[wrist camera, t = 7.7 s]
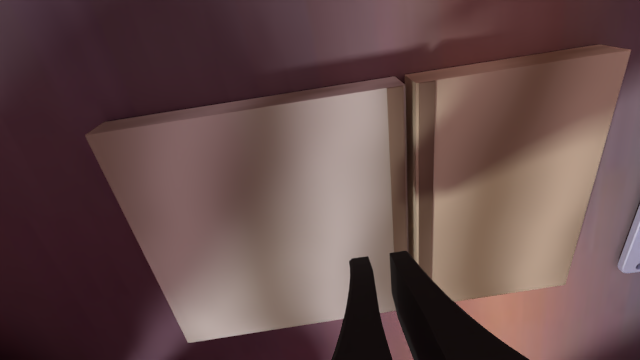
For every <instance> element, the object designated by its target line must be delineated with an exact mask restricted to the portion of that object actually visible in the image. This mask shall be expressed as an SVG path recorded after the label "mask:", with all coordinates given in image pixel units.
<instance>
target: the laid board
mask: <svg viewBox="0 0 640 360" xmlns="http://www.w3.org/2000/svg"><path fill="white" fill-rule="evenodd" d="M630 53H631V50H630V49H624V48H618V47H612V46H607V45H601V44H599V45H592V46H586V47H579V48H573V49H566V50H560V51H554V52H547V53H541V54H534V55H528V56H522V57H515V58H509V59H502V60H496V61H489V62H483V63H477V64H470V65H464V66H457V67H451V68H445V69H438V70H432V71H425V72H419V73H412V74H406V75H405V93H406V147H407V202H408V252H409V254H410V255H411V256H412V257H413V259H414V260H415V261H416V262H417V263H418V265H419V266H420V267H421V268H422V269H423V270H424V272H425V273H426V274H427V275H428V276H429V277H430V278H431V279H432V280H433V281H434V282H435V283H436V284H437V285H438V287H439V288H440V289H441V290H442V291H443V292H444V293H445V294H446V295H447V296H448V297H449V298H451V299H452V300H453V301H454V302H455V301H462V300H468V299H475V298H481V297H488V296H495V295H501V294H508V293H514V292H521V291H528V290H534V289H541V288H547V287H554V286H561V285H565V283H566V280H567V276H568V273H569V269H570V266H571V262H572V259H573V255H574V251H575V248H576V244H577V241H578V237H579V234H580V230H581V227H582V223H583V219H584V216H585V212H586V209H587V205H588V202H589V198H590V195H591V191H592V188H593V184H594V180H595V177H596V173H597V170H598V166H599V163H600V159H601V156H602V152H603V149H604V145H605V141H606V138H607V134H608V131H609V127H610V124H611V120H612V117H613V113H614V109H615V106H616V102H617V99H618V95H619V92H620V88H621V85H622V81H623V78H624V74H625V70H626V67H627V63H628V60H629V56H630Z"/></svg>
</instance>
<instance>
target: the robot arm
mask: <svg viewBox="0 0 640 360" xmlns="http://www.w3.org/2000/svg"><path fill="white" fill-rule="evenodd" d="M389 254H390V273H391V292H392V296H393V300H394V304H395V308H396V312H397V315H398V319H399V322H400V325H401V327H402V330H403V332H404V335H405V338H406V340H407V343H408V346H409V348H410V351H411V353H412V356H413V359H414V360H529V359H528V358H526V357H525V356H523V355H522V354H520V353H519V352H517V351H516V350H514V349H513V348H511V347H510V346H508V345H507V344H505V343H504V342H502V341H501V340H500V339H498V338H497V337H496V336H494V335H493V334H492V333H490V332H489V331H488V330H486V329H485V328H484V327H483V326H481V325H480V324H479V323H478V322H476V321H475V320H474V319H473V318H472V317H470V316H469V315H468V314H467V313H466V312H465V311H464V310H462V309H461V308H460V307H459V306H458V305H457V304H456V303H455V302H454V301H453V300H452V299H451V298H449V297H448V296H447V295H446V294H445V293H444V292H443V291H442V290H441V289H440V288H439V287H438V285H437V284H436V283H435V282H434V281H433V280H432V279H431V278H430V277H429V276H428V275H427V274H426V273H425V272H424V270H423V269H422V268H421V267H420V266H419V265H418V263H417V262H416V261H415V260H414V259H413V257H412V256H411V255H410V254H409V252H407V251H400V252H393V253H389ZM349 265H350V283H349V292H348V299H347V305H346V310H345V314H344V319H343V323H342V327H341V331H340V335H339V338H338V342H337V345H336V348H335V351H334V354H333V357H332V360H392V357H391V353H390V350H389V347H388V343H387V340H386V337H385V333H384V330H383V326H382V322H381V317H380V312H379V305H378V299H377V292H376V286H375V280H374V273H373V269H372V266H371V263H370V260H369V257H368V256H366V257H359V258H352V259H351V260H350V261H349ZM618 268H619V269H620V270H621V271H622V272H623V273H634V272H640V205H639V208H638V210H637V213H636V216H635V219H634V221H633V224H632V227H631V229H630V232H629V235H628V238H627V240H626V243H625V246H624V248H623V251H622V254H621V257H620V259H619V262H618Z"/></svg>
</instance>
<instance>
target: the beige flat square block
mask: <svg viewBox="0 0 640 360" xmlns="http://www.w3.org/2000/svg"><path fill="white" fill-rule="evenodd" d="M85 137H86V139H87V141H88V143H89V145H90V147H91V149H92V151H93V153H94V155H95V157H96V159H97V161H98V163H99V165H100V167H101V169H102V171H103V173H104V175H105V177H106V179H107V181H108V183H109V185H110V187H111V189H112V191H113V193H114V195H115V197H116V199H117V201H118V203H119V205H120V207H121V209H122V211H123V213H124V215H125V217H126V219H127V221H128V223H129V225H130V227H131V229H132V231H133V233H134V235H135V237H136V239H137V241H138V243H139V245H140V247H141V249H142V251H143V253H144V255H145V257H146V259H147V261H148V263H149V265H150V267H151V269H152V271H153V273H154V275H155V277H156V279H157V281H158V283H159V285H160V287H161V289H162V291H163V293H164V295H165V297H166V299H167V301H168V303H169V305H170V307H171V309H172V311H173V313H174V315H175V317H176V319H177V321H178V323H179V326H180V328H181V330H182V332H183V334H184V336H185V338H186V340H187V342H188V343H192V342H198V341H205V340H211V339H217V338H224V337H230V336H237V335H243V334H249V333H256V332H262V331H268V330H275V329H281V328H288V327H294V326H300V325H307V324H313V323H320V322H326V321H332V320H339V319H344V314H345V310H346V305H347V299H348V292H349V283H350V265H349V261H350V260H351V259H352V258H359V257H366V256H368V257H369V260H370V263H371V266H372V269H373V273H374V280H375V286H376V292H377V299H378V305H379V312H380V313H383V312H390V311H396V308H395V304H394V300H393V296H392V292H391V273H390V254H389V253H393V252H400V251H407V252H408V202H407V147H406V93H405V84H404V83H402V82H401V81H400V80H399V79H397V78H396V77H395V76H393V77H387V78H381V79H374V80H368V81H362V82H355V83H349V84H342V85H336V86H330V87H323V88H317V89H311V90H304V91H298V92H292V93H285V94H279V95H273V96H266V97H260V98H253V99H247V100H241V101H234V102H228V103H222V104H215V105H209V106H203V107H196V108H190V109H184V110H177V111H171V112H164V113H158V114H152V115H145V116H139V117H133V118H126V119H120V120H114V121H107V122H103V123H102V124H100V125H99V126H97V127H96V128H95V129H93V130H92V131H90V132H89V133H87V134H86V135H85Z"/></svg>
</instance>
